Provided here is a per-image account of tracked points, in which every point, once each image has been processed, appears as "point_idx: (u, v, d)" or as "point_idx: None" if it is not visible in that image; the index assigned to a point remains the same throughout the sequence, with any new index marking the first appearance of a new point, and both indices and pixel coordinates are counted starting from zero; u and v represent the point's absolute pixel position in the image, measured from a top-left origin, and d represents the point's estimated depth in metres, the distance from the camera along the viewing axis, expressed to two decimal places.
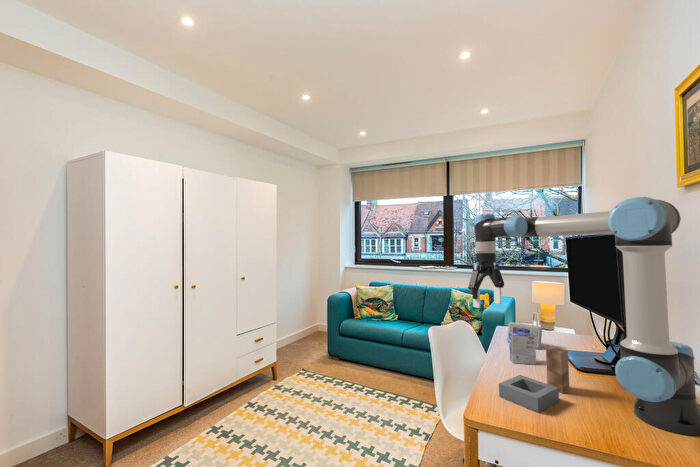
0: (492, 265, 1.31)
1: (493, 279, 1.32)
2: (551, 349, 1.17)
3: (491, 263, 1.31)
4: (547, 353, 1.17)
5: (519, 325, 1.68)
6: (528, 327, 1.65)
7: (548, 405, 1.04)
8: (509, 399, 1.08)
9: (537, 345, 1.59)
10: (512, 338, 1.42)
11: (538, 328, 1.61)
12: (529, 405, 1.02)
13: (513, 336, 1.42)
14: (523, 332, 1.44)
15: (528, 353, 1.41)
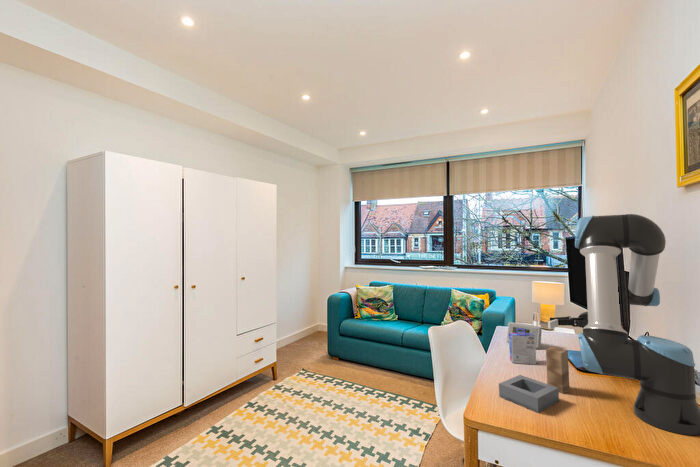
0: None
1: None
2: (551, 349, 1.17)
3: None
4: (547, 353, 1.17)
5: (519, 325, 1.68)
6: (528, 327, 1.65)
7: (548, 405, 1.04)
8: (509, 399, 1.08)
9: (537, 345, 1.59)
10: (512, 338, 1.42)
11: (538, 328, 1.61)
12: (529, 405, 1.02)
13: (513, 336, 1.42)
14: (523, 332, 1.44)
15: (528, 353, 1.41)
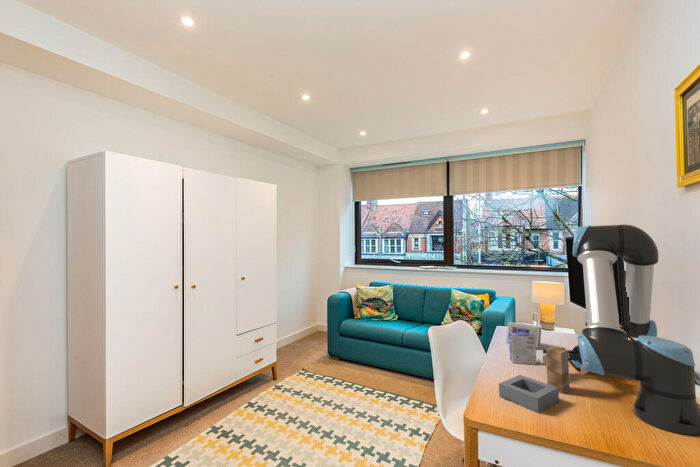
0: None
1: None
2: (551, 349, 1.17)
3: None
4: (547, 353, 1.17)
5: (518, 325, 1.68)
6: (528, 327, 1.65)
7: (548, 405, 1.04)
8: (509, 399, 1.08)
9: (536, 345, 1.59)
10: (512, 338, 1.42)
11: (537, 328, 1.61)
12: (529, 405, 1.02)
13: (513, 336, 1.42)
14: (523, 332, 1.44)
15: (528, 353, 1.41)
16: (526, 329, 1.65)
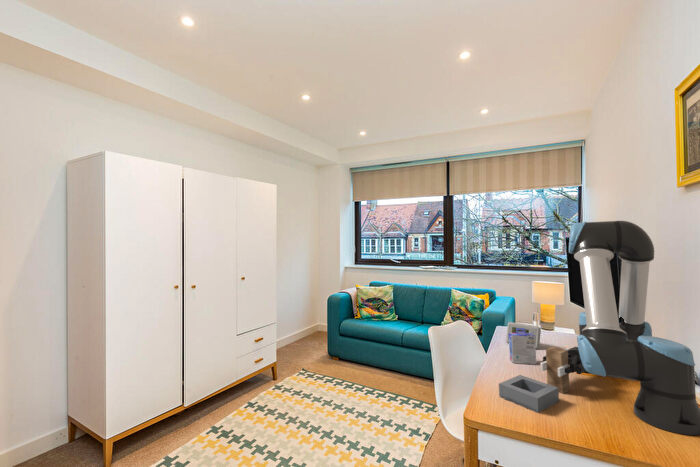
0: None
1: None
2: (551, 349, 1.17)
3: None
4: (547, 353, 1.17)
5: (518, 325, 1.68)
6: (527, 327, 1.65)
7: (548, 405, 1.04)
8: (509, 399, 1.08)
9: (536, 345, 1.59)
10: (512, 338, 1.42)
11: (537, 328, 1.61)
12: (529, 405, 1.02)
13: (513, 336, 1.42)
14: (523, 332, 1.44)
15: (528, 353, 1.41)
16: (526, 329, 1.65)
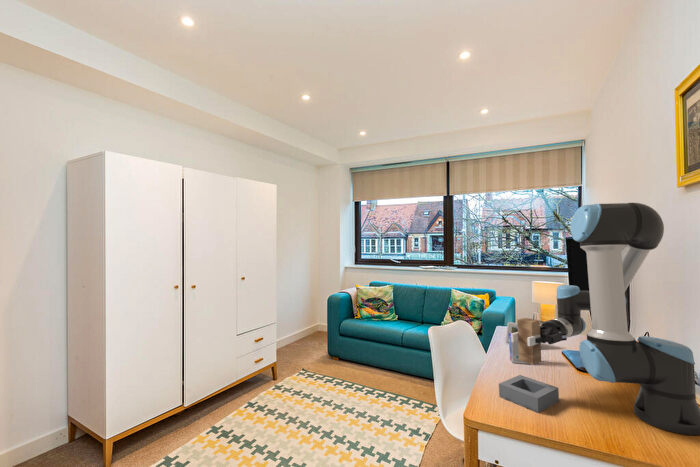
0: (556, 330, 1.16)
1: None
2: (523, 319, 1.13)
3: (557, 329, 1.17)
4: (518, 323, 1.13)
5: None
6: None
7: (548, 405, 1.04)
8: (509, 399, 1.08)
9: None
10: None
11: None
12: (529, 405, 1.02)
13: None
14: None
15: None
16: None
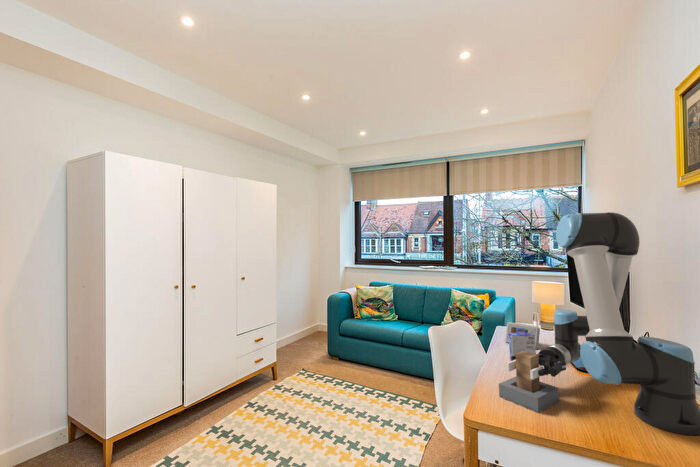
0: (554, 358, 1.14)
1: None
2: (521, 353, 1.10)
3: (555, 358, 1.15)
4: (516, 357, 1.10)
5: (517, 325, 1.68)
6: (526, 327, 1.65)
7: (548, 405, 1.04)
8: (509, 399, 1.08)
9: None
10: (512, 338, 1.42)
11: (536, 328, 1.61)
12: (529, 405, 1.02)
13: (513, 336, 1.42)
14: (523, 332, 1.44)
15: None
16: (525, 329, 1.65)
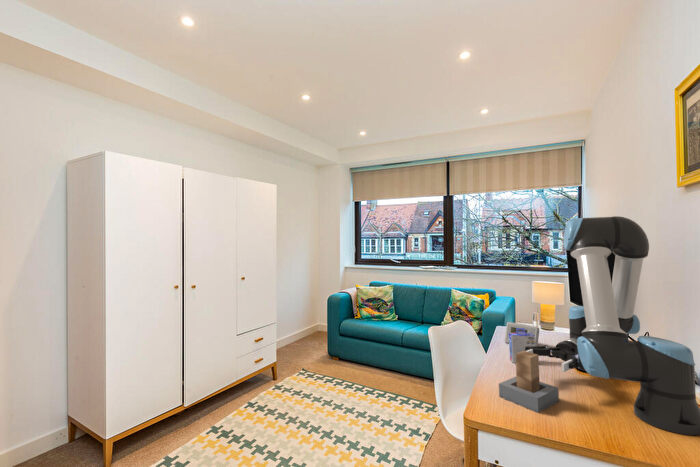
0: (570, 351, 1.21)
1: (569, 358, 1.16)
2: (521, 353, 1.10)
3: (570, 351, 1.22)
4: (516, 357, 1.10)
5: (517, 325, 1.68)
6: (526, 327, 1.65)
7: (548, 405, 1.04)
8: (509, 399, 1.08)
9: None
10: (512, 338, 1.42)
11: (535, 328, 1.61)
12: (529, 405, 1.02)
13: (513, 336, 1.42)
14: (523, 332, 1.44)
15: None
16: None
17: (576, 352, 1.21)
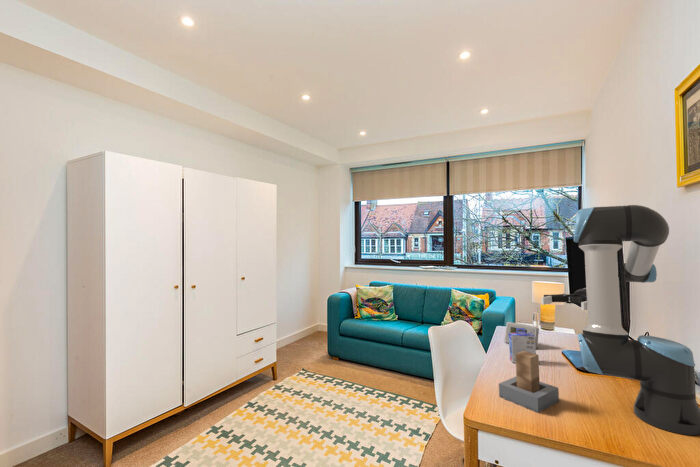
0: None
1: (587, 301, 1.22)
2: (521, 353, 1.10)
3: None
4: (516, 357, 1.10)
5: (516, 325, 1.68)
6: (525, 327, 1.65)
7: (548, 405, 1.04)
8: (509, 399, 1.08)
9: None
10: (512, 338, 1.42)
11: (535, 328, 1.61)
12: (529, 405, 1.02)
13: (513, 336, 1.42)
14: (523, 332, 1.44)
15: None
16: None
17: None
